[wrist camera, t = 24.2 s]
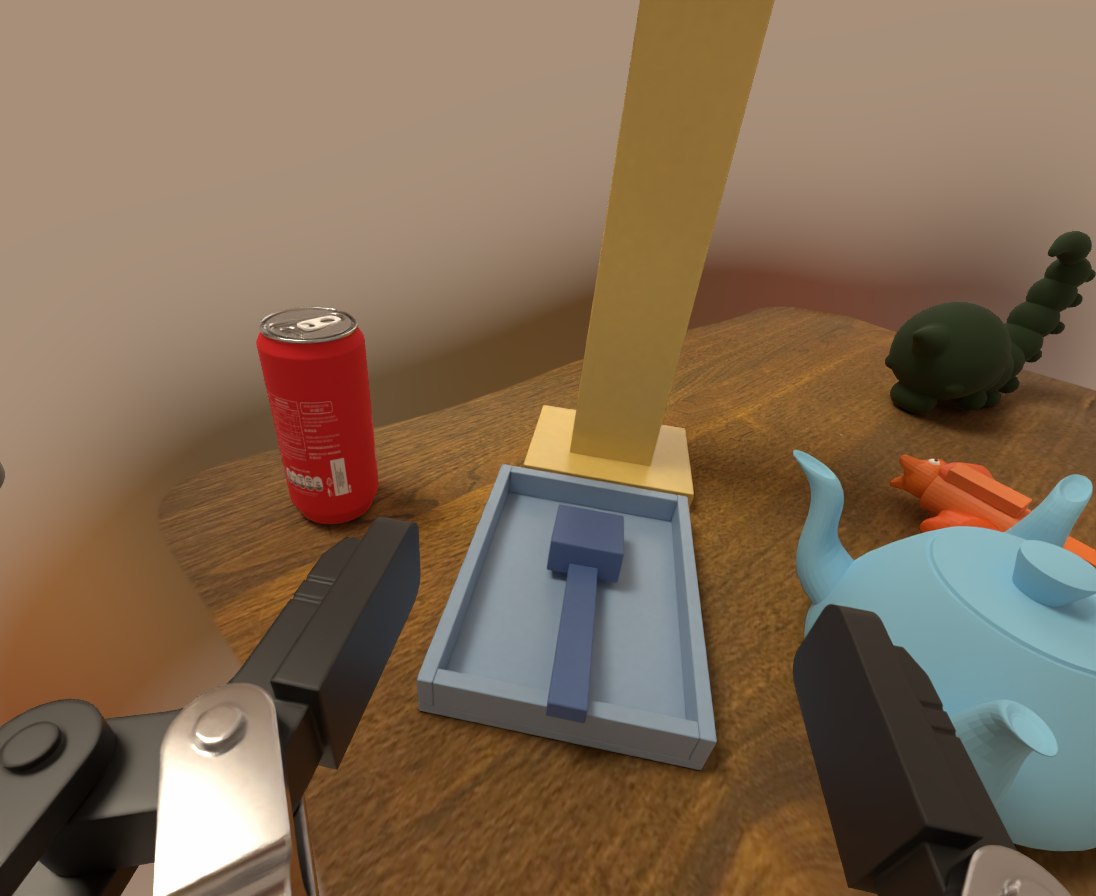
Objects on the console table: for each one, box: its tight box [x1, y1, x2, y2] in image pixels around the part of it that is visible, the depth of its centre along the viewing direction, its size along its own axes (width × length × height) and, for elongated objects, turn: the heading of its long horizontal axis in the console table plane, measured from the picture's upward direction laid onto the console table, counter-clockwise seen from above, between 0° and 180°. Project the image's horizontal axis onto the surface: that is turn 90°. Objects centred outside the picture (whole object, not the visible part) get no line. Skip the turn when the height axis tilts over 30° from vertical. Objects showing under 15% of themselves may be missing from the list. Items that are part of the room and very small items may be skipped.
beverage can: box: [257, 307, 379, 525], centre depth 30 cm, size 5×5×12 cm
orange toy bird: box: [890, 455, 1096, 569], centre depth 35 cm, size 5×8×12 cm
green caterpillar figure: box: [885, 231, 1096, 414], centre depth 52 cm, size 9×19×25 cm
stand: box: [523, 0, 774, 509], centre depth 32 cm, size 14×10×32 cm
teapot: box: [793, 450, 1096, 851], centre depth 23 cm, size 15×15×10 cm
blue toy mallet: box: [546, 504, 624, 723], centre depth 26 cm, size 4×13×2 cm, turn 171°
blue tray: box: [417, 464, 717, 770], centre depth 28 cm, size 12×16×2 cm
